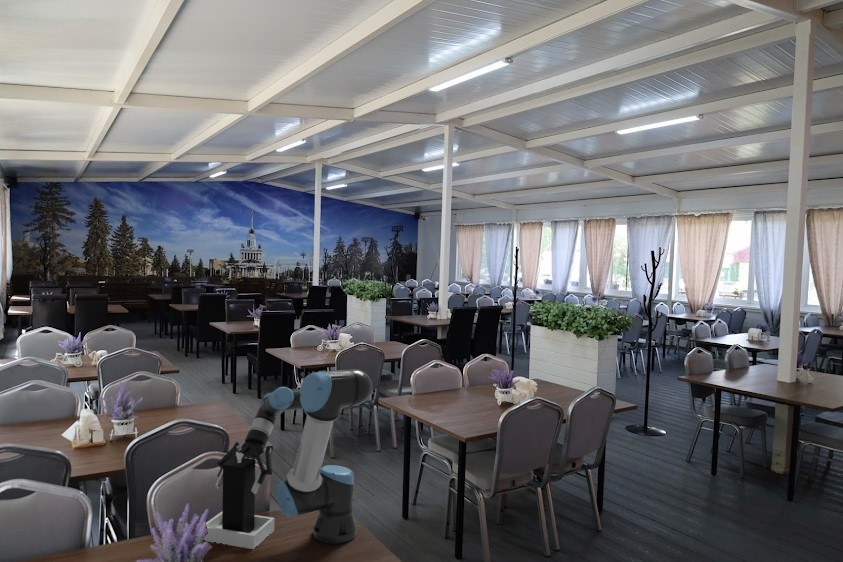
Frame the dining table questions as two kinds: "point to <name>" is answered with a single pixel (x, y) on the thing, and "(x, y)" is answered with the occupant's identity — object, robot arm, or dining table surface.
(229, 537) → the tray
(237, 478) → the black tall block
